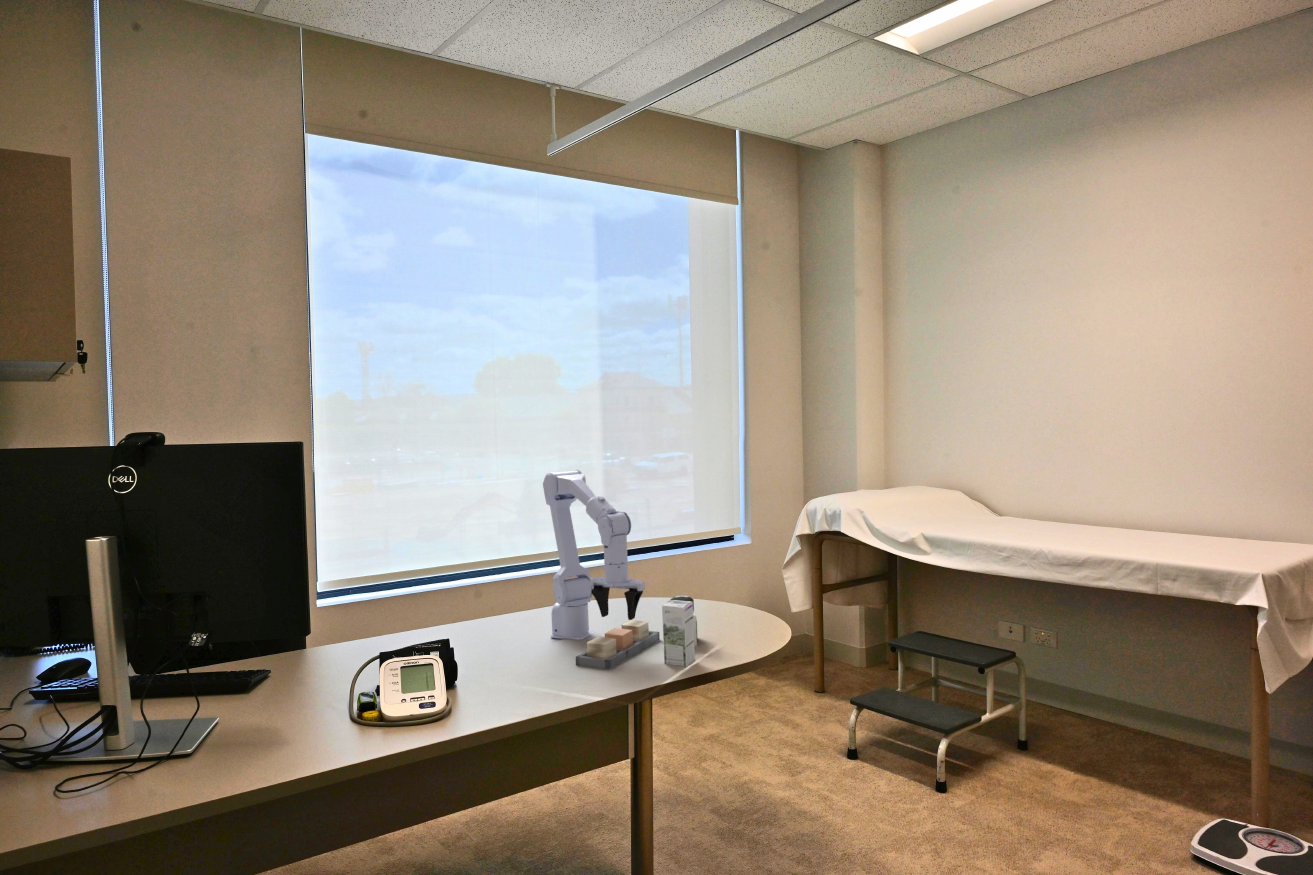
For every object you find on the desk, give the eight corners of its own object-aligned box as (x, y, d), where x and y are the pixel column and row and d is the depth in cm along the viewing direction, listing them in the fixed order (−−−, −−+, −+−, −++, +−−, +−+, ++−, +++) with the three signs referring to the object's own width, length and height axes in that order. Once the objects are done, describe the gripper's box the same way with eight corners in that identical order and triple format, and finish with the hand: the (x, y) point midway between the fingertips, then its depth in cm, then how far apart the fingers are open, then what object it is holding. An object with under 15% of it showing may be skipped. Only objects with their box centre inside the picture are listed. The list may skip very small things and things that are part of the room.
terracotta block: (605, 653, 199) (604, 633, 199) (615, 647, 203) (614, 628, 203) (623, 655, 197) (622, 635, 196) (633, 649, 201) (632, 629, 201)
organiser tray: (575, 667, 191) (575, 656, 191) (629, 638, 213) (628, 628, 213) (608, 672, 187) (608, 660, 187) (659, 641, 209) (659, 631, 209)
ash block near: (587, 663, 192) (586, 642, 192) (599, 657, 196) (598, 636, 196) (605, 665, 190) (604, 644, 189) (616, 659, 194) (615, 638, 194)
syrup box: (695, 660, 193) (693, 600, 192) (686, 668, 187) (683, 606, 187) (673, 658, 195) (671, 598, 194) (663, 666, 190) (661, 604, 189)
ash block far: (622, 644, 206) (621, 624, 206) (632, 638, 210) (631, 619, 210) (639, 646, 204) (638, 626, 203) (649, 640, 208) (648, 621, 208)
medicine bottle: (697, 648, 203) (696, 600, 202) (669, 648, 203) (667, 601, 202) (696, 639, 210) (695, 593, 209) (669, 640, 210) (667, 594, 209)
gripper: (582, 563, 199) (584, 618, 200) (633, 567, 192) (635, 624, 193) (597, 558, 205) (599, 611, 206) (648, 561, 198) (650, 616, 199)
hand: (618, 617), depth 200 cm, fingers open, 7 cm apart
